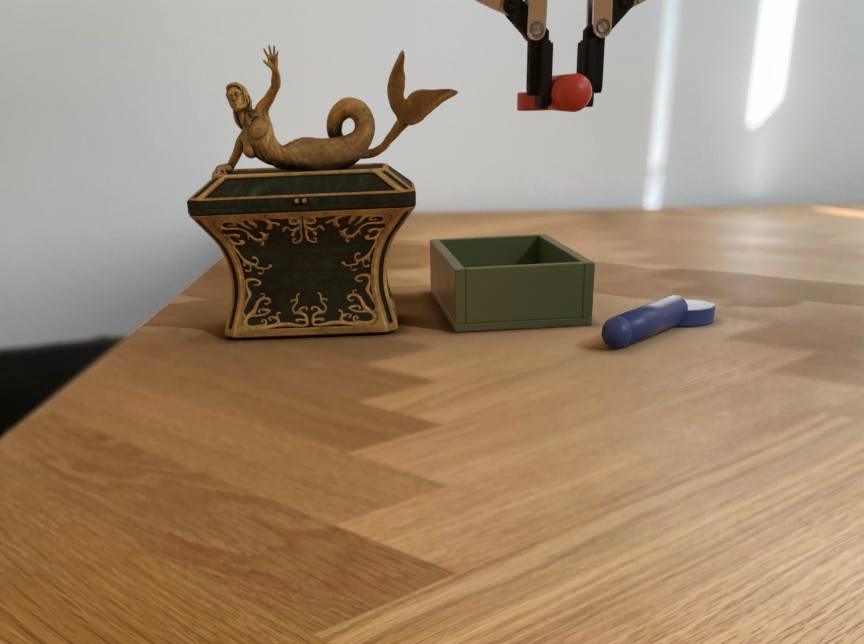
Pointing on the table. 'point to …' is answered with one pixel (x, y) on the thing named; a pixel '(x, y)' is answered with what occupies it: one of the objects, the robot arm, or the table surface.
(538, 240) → the bin
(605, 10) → the robot arm
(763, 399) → the table surface
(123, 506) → the table surface
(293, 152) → the decorative box
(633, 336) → the blue spoon
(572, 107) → the red spoon
